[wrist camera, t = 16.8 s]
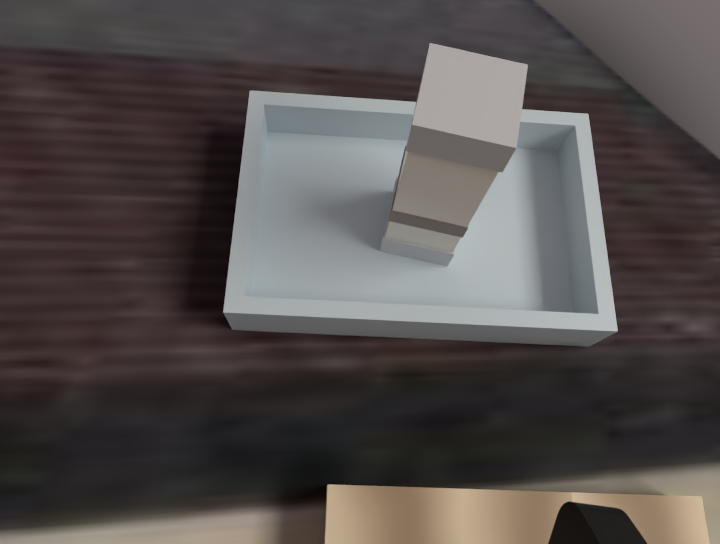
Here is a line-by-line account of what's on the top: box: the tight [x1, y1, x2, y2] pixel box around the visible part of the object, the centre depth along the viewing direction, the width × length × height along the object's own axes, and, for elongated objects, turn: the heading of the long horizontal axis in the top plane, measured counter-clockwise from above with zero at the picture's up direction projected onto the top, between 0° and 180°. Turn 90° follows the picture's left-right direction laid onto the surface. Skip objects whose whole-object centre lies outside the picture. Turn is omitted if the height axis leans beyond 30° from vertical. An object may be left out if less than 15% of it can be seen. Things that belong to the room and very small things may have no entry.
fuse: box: [380, 43, 528, 266], centre depth 25 cm, size 4×4×11 cm
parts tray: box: [223, 91, 618, 347], centre depth 29 cm, size 18×12×3 cm, turn 88°
